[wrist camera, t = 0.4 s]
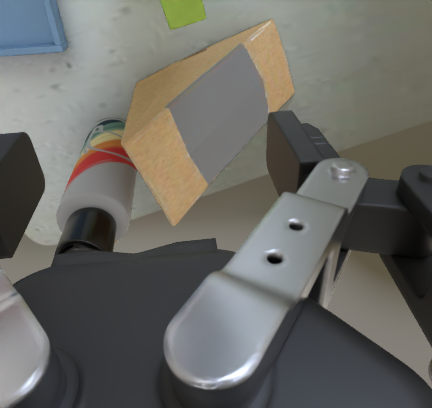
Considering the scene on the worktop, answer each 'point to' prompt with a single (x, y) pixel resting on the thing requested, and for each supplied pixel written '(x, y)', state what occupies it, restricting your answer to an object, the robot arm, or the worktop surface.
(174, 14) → the soap dispenser
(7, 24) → the tray
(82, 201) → the lotion bottle
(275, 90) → the sandwich container
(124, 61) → the worktop surface
